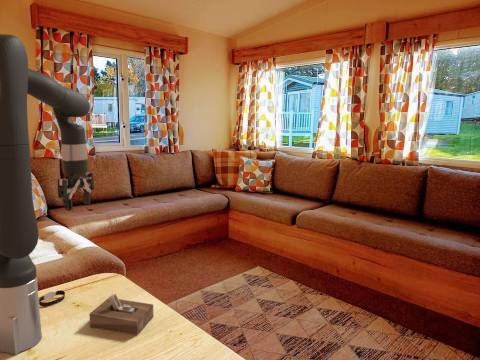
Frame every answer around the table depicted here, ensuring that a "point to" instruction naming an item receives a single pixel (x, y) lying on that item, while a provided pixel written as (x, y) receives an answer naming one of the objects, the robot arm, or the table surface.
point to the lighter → (117, 305)
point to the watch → (49, 296)
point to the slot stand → (121, 317)
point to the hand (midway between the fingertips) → (78, 206)
